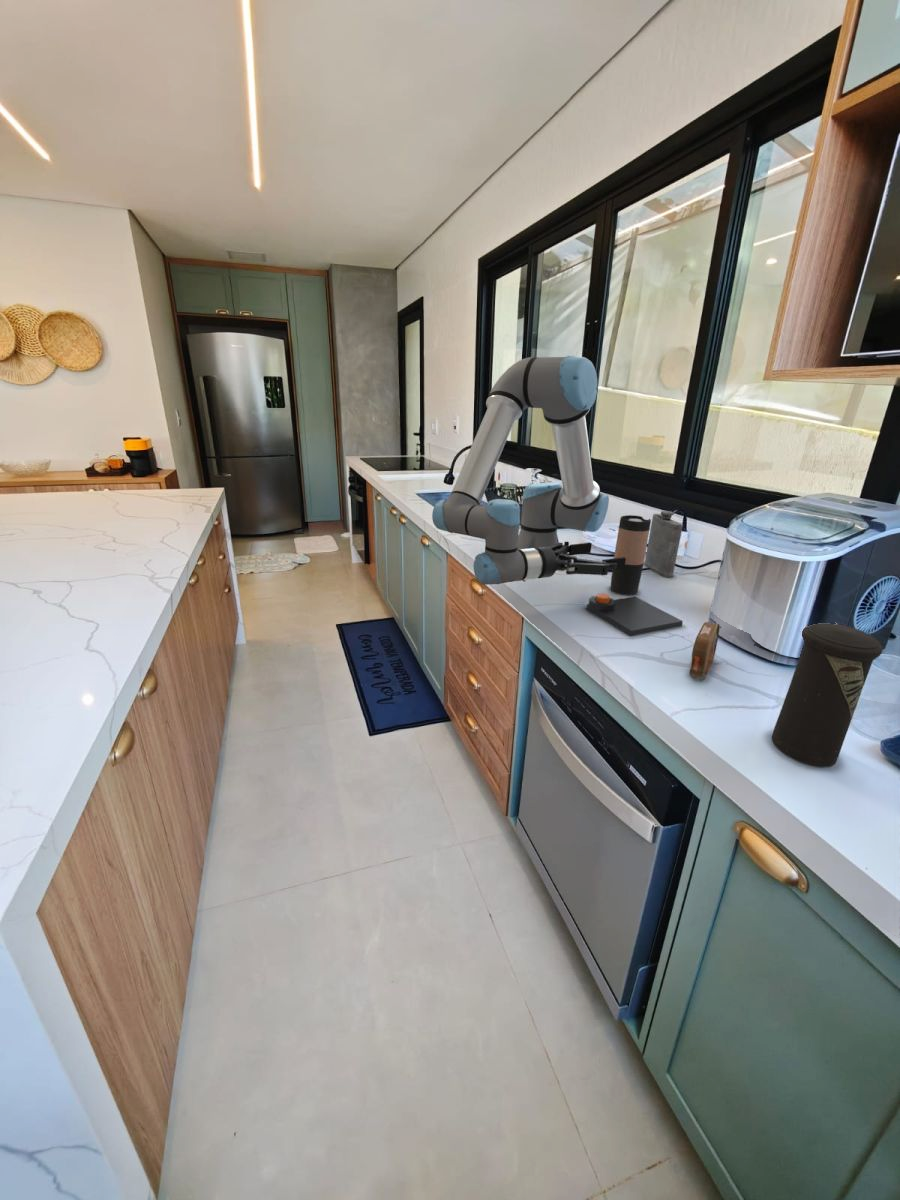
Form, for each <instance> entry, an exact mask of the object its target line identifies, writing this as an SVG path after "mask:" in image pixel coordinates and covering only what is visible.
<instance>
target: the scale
mask: <svg viewBox="0 0 900 1200" xmlns="http://www.w3.org/2000/svg"><path fill="white" fill-rule="evenodd" d="M586 610H587V611H589V612H590V613H592V614H594V615H596V616H597V617H599V618H600V619H602V620H604V621H605V622H607V623H608V624H610V625H612V626H613V627H615V628H617V629H619V630H620V631H621V632H623V633H624V634H626V635H628V636H630V637H634V636H639V635H644V634H648V633H654V632H658V631H659V632H660V631H665V630H670V629H674V628H679V627H682V626H683V623H684V621H683V620H682V619H680V618H677V617H676V616H675V615H674V616H673V615H672V614H670V613H668V612H666V611H664V610H662V609H661V608H659V607H656V606H654V605H653V604H650V603H649V602H647V601H645V600H643V599H641V598H639V597H637V596H630V597H623V598H617V599H614V598H612V597H610V601H609V603H606V604H605V603H599V602H596V595H592V596H591V597H589V598H588V603H587V604H586Z"/></svg>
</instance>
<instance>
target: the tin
mask: <svg viewBox="0 0 900 1200" xmlns="http://www.w3.org/2000/svg"><path fill="white" fill-rule="evenodd" d="M719 636H720V623H715V622H709V621H705V622H704V623H703V624H702V626H701V628H700V629H699V631H698V633H697V635H696V637H695V640H694V643H693V646H692V651H691V663H690V668H689V673H688V674H689V676H690V677H693V678H696V679H700V680H703V681H705V680H706V678H707V676H708V674H709V671H710V669H711V667H712V664H713V662H714V659H715V655H716V650H717V647H718V646H717V645H718V641H719Z"/></svg>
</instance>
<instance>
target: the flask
mask: <svg viewBox="0 0 900 1200" xmlns="http://www.w3.org/2000/svg"><path fill="white" fill-rule="evenodd" d="M673 513H674V512H673V511H671V510H661V511H660V513H652V519H651V523H650V529H649V535H648V541H647V547H646V553H645V559H644V564H645V565H646V566H647V567H648V568H649V569H650V570H652V571H653V572H654V573H656V574H658V575H660V576H661V577H664V578H673V576H674V572H675V567H676V563H677V562H676V561H677V557H678V552H679V547H680V542H681V538H682V537H681V536H682V532H683V526H684V524H683V523H682V522H679V521H676V520H673V519H672V516H673Z"/></svg>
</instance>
